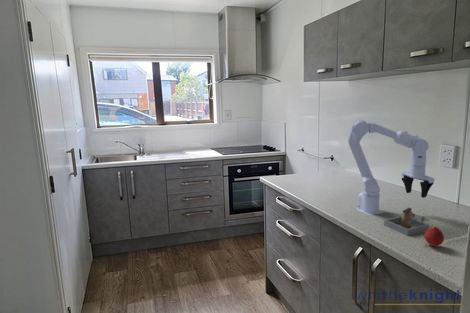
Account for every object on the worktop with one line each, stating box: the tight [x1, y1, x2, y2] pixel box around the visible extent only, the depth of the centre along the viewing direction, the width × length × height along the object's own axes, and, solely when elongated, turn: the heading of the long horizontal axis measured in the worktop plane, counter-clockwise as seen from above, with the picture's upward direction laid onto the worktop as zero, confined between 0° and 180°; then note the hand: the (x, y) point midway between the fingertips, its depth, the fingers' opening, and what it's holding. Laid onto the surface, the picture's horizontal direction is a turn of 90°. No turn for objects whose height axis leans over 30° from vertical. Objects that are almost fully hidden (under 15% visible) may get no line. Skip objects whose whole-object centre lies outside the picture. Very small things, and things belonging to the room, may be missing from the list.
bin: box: [383, 215, 430, 237], centre depth 125 cm, size 11×11×3 cm
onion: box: [423, 225, 445, 248], centre depth 110 cm, size 6×6×8 cm
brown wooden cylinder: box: [400, 207, 413, 229], centre depth 125 cm, size 4×5×8 cm
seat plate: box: [397, 212, 431, 223], centre depth 135 cm, size 9×9×2 cm
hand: (416, 194), depth 138 cm, fingers open, 7 cm apart
